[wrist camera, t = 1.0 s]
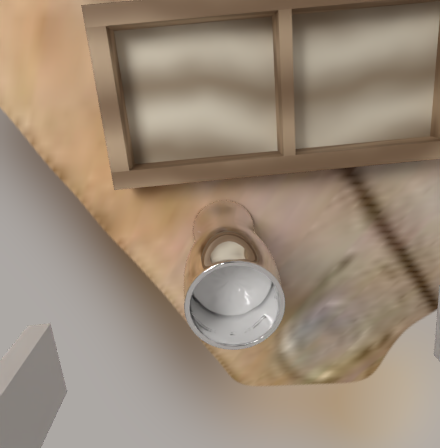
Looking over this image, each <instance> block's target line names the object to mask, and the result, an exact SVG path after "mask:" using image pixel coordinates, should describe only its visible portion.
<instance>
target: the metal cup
mask: <svg viewBox="0 0 440 448" xmlns="http://www.w3.org/2000/svg"><path fill="white" fill-rule="evenodd" d="M193 235H194V239H195V242H194V244H193V246H192V248H191V250H190V252H189V255H188V257H187V260H186V265H185V271H184V300H185V304H184V309H185V316H186V319H187V322H188V324H189V326H190V328H191V329H192V330H193V332H194V333H195V334H196V335H197V336H198V337H199V338H200V339H202V340H203V341H204V342H206V343H208V344H210V345H212V346H215V347H218V348H222V349H231V350H235V349H244V348H248V347H251V346H254V345H256V344H259V343H260V342H262V341H264V340H265V339H267V338H268V337H269V336H270V335H271V334H272V333H273V332H274V331H275V330H276V329H277V327H278V326H279V324H280V322H281V320H282V318H283V315H284V310H285V296H284V292H283V289H282V286H281V281H280V277H279V273H278V270H277V267H276V264H275V261H274V259H273V257H272V255H271V253H270V251H269V249H268V247H267V246H266V245H265V243H264V242H263V241H262V240H261V239H260V237H259V236H258V235H257V234H255V233H254V223H253V219H252V217H251V215H250V213H249V212H248V211H247V210H246V209H245V208H244V207H243V206H241V205H240V204H238V203H236V202H233V201H227V200H221V201H216V202H213V203H210V204H208V205H207V206H205V207H204V208H203V209H202V210H201V211H200V212H199V213H198V215H197V216H196V218H195V221H194V225H193Z"/></svg>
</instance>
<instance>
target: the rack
mask: <svg viewBox="0 0 440 448" xmlns="http://www.w3.org/2000/svg"><path fill="white" fill-rule="evenodd" d="M81 6H82V12H83V17H84V23H85V28H86V34H87V40H88V45H89V51H90V56H91V62H92V67H93V73H94V79H95V84H96V90H97V95H98V101H99V107H100V112H101V118H102V123H103V129H104V135H105V140H106V146H107V151H108V157H109V163H110V168H111V174H112V179H113V185H114V190H119V189H129V188H140V187H150V186H161V185H171V184H182V183H192V182H203V181H213V180H224V179H234V178H244V177H255V176H265V175H276V174H286V173H297V172H307V171H318V170H328V169H339V168H349V167H360V166H370V165H381V164H391V163H402V162H412V161H422V160H433V159H440V0H133V1H122V2H111V3H100V4H89V5H81Z"/></svg>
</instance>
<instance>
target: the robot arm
mask: <svg viewBox="0 0 440 448" xmlns="http://www.w3.org/2000/svg"><path fill="white" fill-rule="evenodd" d="M434 355H435V357H436V358H437V359H438V360H439V361H440V286H439V298H438V311H437V323H436V336H435V349H434ZM66 393H67V390H66V385H65V381H64V377H63V373H62V369H61V365H60V361H59V357H58V353H57V349H56V344H55V341H54V337H53V332H52V328H51V324H40V325H30V326H27V327H26V328H25V330H24V331H23V332H22V333H21V335H20V336H19V337H18V339H17V340H16V341H15V342H14V344H13V345H12V346H11V348H10V349H9V350H8V351H7V353H6V354H5V355H4V357H3V358H2V359H1V360H0V448H41V446H42V444H43V442H44V440H45V438H46V435H47V433H48V431H49V429H50V427H51V425H52V423H53V420H54V418H55V416H56V414H57V412H58V410H59V408H60V406H61V404H62V401H63V399H64V397H65V395H66Z"/></svg>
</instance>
